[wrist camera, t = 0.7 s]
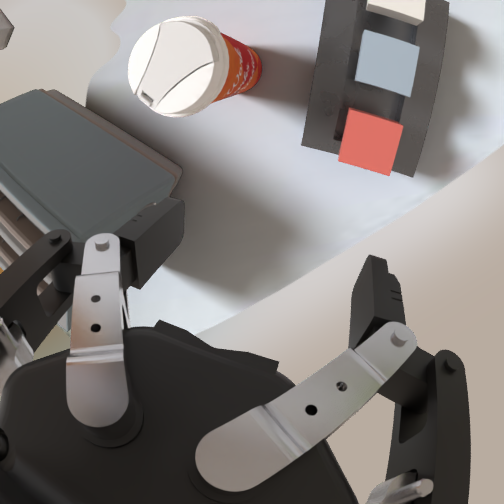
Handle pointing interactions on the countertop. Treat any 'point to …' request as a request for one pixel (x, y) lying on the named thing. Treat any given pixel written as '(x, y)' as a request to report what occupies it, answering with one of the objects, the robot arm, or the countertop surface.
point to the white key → (399, 9)
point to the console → (367, 96)
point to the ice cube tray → (5, 30)
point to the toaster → (70, 175)
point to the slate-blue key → (387, 63)
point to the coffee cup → (189, 66)
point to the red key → (370, 141)
